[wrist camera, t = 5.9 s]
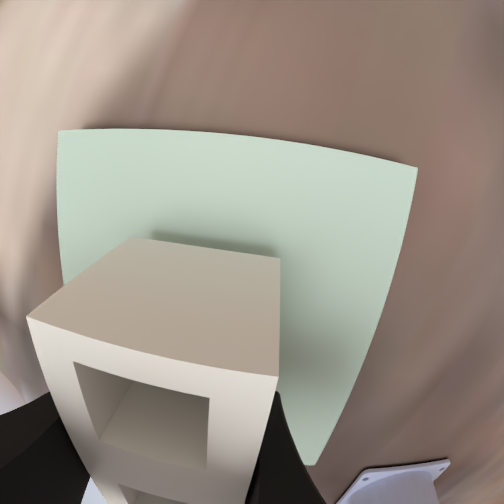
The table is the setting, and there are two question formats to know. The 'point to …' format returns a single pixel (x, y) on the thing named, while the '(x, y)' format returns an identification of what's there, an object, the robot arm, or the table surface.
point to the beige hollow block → (165, 369)
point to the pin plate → (253, 237)
